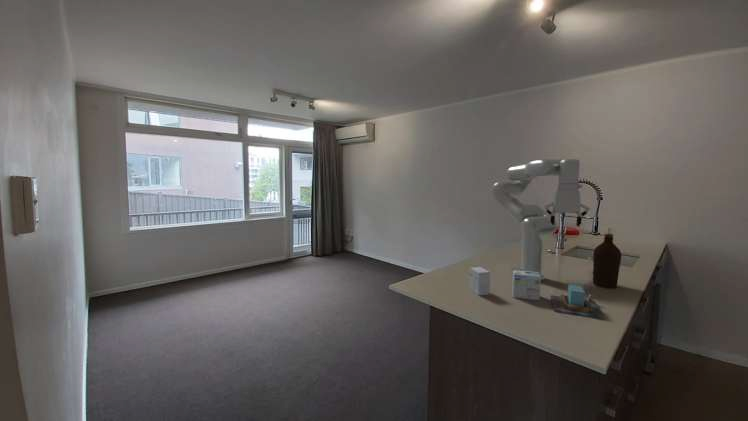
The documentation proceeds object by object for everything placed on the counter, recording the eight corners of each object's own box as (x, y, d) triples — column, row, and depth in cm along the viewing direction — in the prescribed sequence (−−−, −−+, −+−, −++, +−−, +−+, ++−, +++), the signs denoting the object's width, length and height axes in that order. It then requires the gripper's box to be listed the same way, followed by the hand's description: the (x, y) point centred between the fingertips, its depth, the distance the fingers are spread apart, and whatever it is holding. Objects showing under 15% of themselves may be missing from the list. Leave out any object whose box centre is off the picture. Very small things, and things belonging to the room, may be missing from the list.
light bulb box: (537, 295, 138) (539, 271, 137) (540, 301, 132) (541, 276, 130) (511, 292, 142) (512, 269, 140) (512, 297, 135) (513, 273, 134)
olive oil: (624, 289, 145) (629, 236, 142) (601, 289, 145) (605, 236, 142) (607, 281, 155) (611, 232, 152) (586, 281, 155) (590, 232, 152)
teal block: (567, 300, 130) (568, 284, 129) (580, 302, 128) (581, 286, 127) (570, 307, 123) (571, 290, 122) (583, 309, 121) (585, 292, 120)
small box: (489, 294, 138) (490, 271, 137) (478, 295, 137) (479, 272, 136) (479, 288, 146) (480, 266, 145) (469, 289, 145) (469, 267, 144)
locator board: (554, 311, 122) (555, 302, 121) (550, 296, 136) (551, 288, 136) (604, 319, 115) (605, 309, 115) (594, 303, 129) (595, 294, 129)
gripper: (589, 187, 138) (586, 225, 140) (545, 186, 145) (542, 222, 147) (593, 188, 131) (589, 228, 133) (546, 187, 139) (544, 225, 141)
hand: (565, 225), depth 140 cm, fingers open, 9 cm apart
